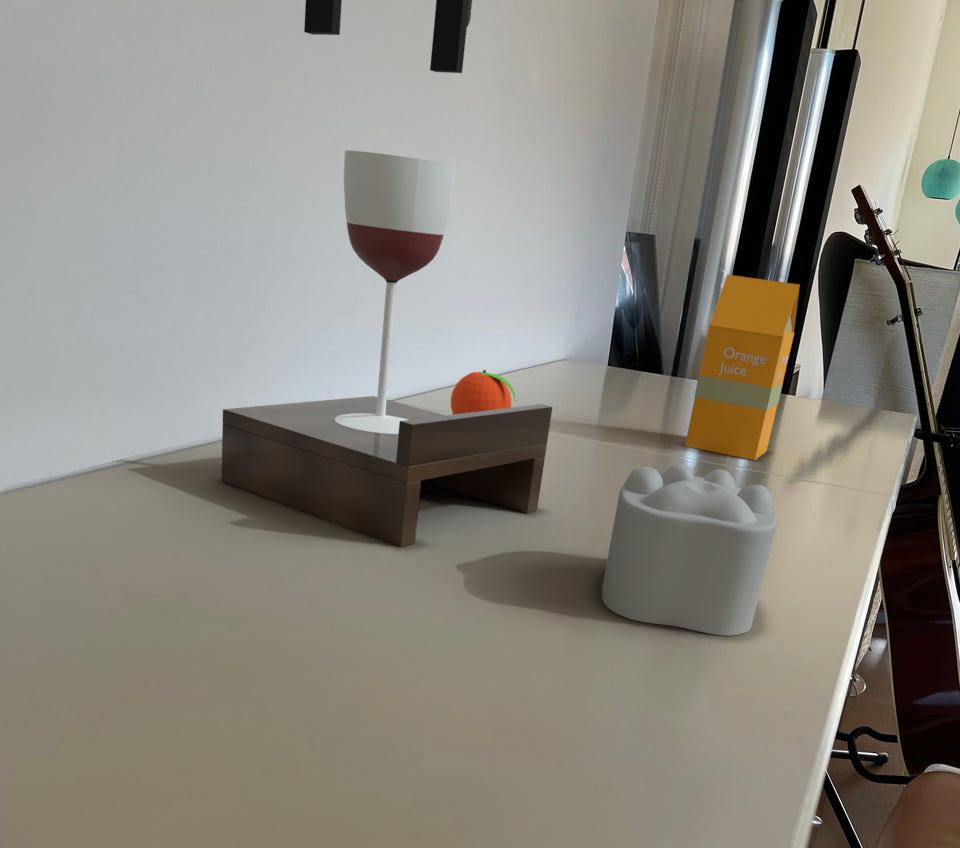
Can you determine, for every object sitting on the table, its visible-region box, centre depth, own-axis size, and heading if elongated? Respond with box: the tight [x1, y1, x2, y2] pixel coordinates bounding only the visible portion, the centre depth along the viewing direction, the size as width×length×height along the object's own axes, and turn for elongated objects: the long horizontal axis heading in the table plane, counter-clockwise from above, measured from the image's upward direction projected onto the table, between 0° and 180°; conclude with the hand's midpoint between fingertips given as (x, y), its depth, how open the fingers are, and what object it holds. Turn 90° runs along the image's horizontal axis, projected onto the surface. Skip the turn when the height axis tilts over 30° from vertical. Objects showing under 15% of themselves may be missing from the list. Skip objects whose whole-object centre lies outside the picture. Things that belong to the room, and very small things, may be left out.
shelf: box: [221, 395, 553, 548], centre depth 82 cm, size 20×18×9 cm
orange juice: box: [684, 274, 801, 461], centre depth 119 cm, size 8×9×20 cm
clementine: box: [450, 369, 517, 415], centre depth 112 cm, size 8×7×7 cm
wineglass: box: [335, 150, 457, 434], centre depth 78 cm, size 8×9×20 cm
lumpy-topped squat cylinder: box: [601, 463, 777, 637], centre depth 68 cm, size 10×13×9 cm
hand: (388, 54), depth 73 cm, fingers open, 13 cm apart
